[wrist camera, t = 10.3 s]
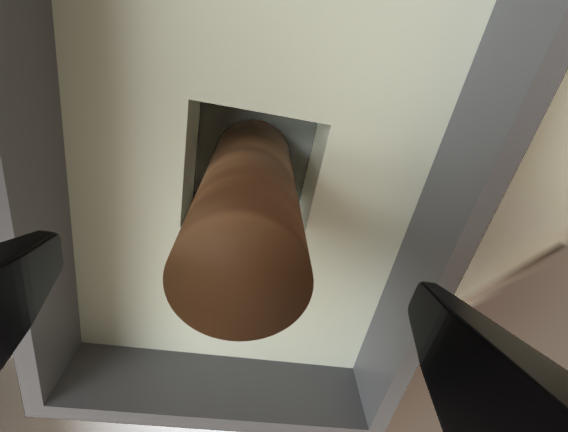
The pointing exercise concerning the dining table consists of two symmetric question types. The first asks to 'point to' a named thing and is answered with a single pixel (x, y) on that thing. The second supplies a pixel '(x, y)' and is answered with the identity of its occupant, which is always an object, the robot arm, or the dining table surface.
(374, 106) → the box
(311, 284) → the peg
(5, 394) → the dining table surface
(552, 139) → the dining table surface
